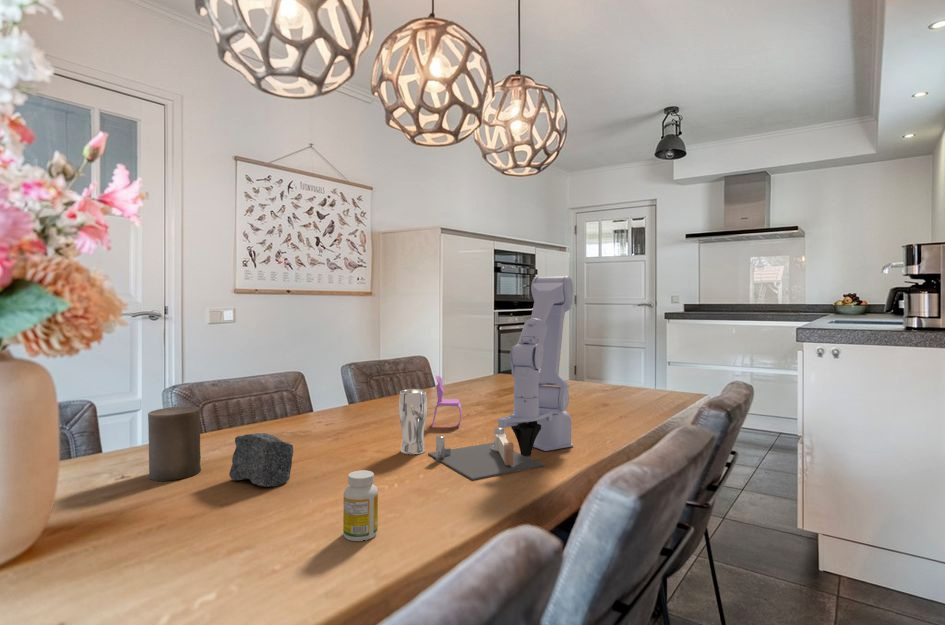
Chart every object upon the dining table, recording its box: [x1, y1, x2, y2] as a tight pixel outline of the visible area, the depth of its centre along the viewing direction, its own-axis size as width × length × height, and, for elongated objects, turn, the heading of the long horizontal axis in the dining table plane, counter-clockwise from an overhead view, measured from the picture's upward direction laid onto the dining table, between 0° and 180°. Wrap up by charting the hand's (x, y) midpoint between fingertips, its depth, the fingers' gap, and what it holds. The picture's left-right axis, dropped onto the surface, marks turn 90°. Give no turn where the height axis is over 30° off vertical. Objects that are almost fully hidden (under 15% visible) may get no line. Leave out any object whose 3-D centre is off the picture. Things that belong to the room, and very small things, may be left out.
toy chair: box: [431, 375, 462, 429], centre depth 154 cm, size 8×9×15 cm
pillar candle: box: [147, 403, 202, 482], centre depth 110 cm, size 10×10×15 cm
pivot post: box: [490, 427, 505, 451], centre depth 128 cm, size 4×4×6 cm
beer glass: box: [398, 388, 428, 456], centre depth 127 cm, size 7×7×15 cm
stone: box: [228, 432, 294, 488], centre depth 105 cm, size 12×8×10 cm, turn 64°
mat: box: [428, 442, 546, 481], centre depth 120 cm, size 19×21×1 cm
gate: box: [495, 433, 515, 465], centre depth 120 cm, size 13×2×4 cm, turn 6°
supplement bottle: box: [342, 469, 379, 542], centre depth 81 cm, size 5×5×10 cm
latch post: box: [435, 435, 452, 463], centre depth 121 cm, size 4×3×6 cm
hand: (525, 455), depth 118 cm, fingers closed
